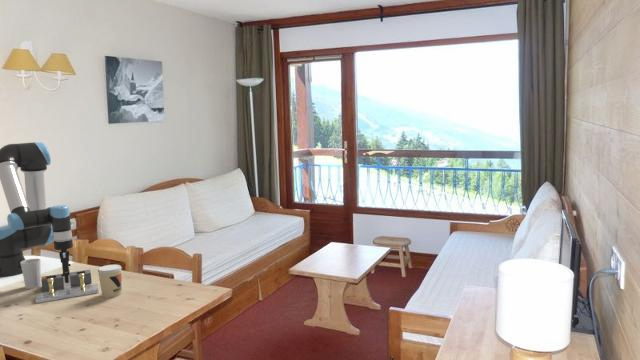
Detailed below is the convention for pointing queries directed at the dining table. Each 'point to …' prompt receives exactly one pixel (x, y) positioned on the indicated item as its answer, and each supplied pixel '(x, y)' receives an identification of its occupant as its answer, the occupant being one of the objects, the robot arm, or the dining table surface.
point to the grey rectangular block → (59, 282)
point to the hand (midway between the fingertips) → (67, 285)
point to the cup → (31, 273)
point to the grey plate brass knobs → (66, 291)
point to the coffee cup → (110, 280)
